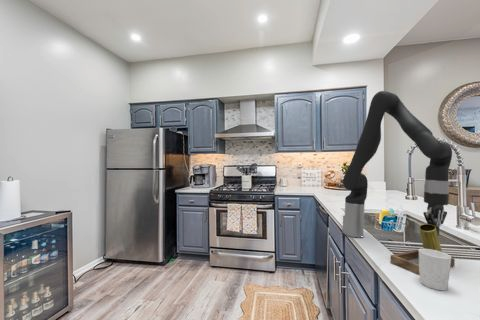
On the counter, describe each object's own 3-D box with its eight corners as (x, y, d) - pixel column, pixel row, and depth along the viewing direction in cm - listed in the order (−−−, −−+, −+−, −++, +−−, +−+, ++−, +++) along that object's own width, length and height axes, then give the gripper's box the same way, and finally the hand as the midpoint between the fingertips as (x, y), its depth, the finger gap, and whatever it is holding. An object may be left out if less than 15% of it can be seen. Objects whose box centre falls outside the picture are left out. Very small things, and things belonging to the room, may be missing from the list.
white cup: (411, 277, 76) (412, 247, 76) (435, 279, 76) (436, 249, 76) (430, 291, 68) (431, 257, 68) (457, 292, 68) (458, 259, 68)
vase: (449, 261, 87) (441, 229, 84) (431, 265, 88) (423, 233, 86) (438, 251, 93) (430, 221, 90) (421, 254, 94) (413, 225, 92)
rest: (390, 262, 87) (390, 255, 87) (421, 255, 96) (422, 248, 96) (422, 276, 78) (422, 267, 78) (454, 266, 86) (454, 258, 87)
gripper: (433, 190, 97) (432, 231, 97) (416, 190, 91) (414, 234, 91) (456, 192, 90) (455, 236, 90) (438, 193, 85) (437, 240, 84)
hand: (434, 235), depth 91 cm, fingers closed
